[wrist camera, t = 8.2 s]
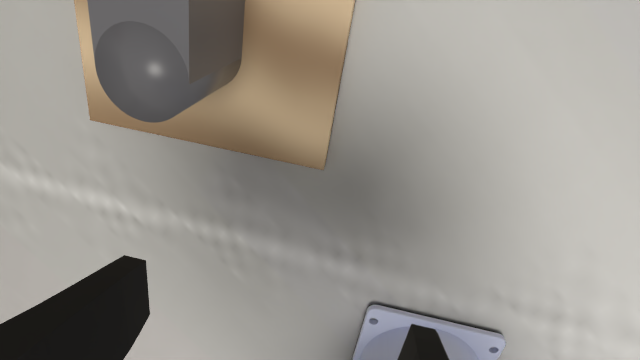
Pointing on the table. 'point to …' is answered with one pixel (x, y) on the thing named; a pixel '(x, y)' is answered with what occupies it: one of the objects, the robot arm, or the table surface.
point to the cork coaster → (257, 84)
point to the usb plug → (165, 52)
